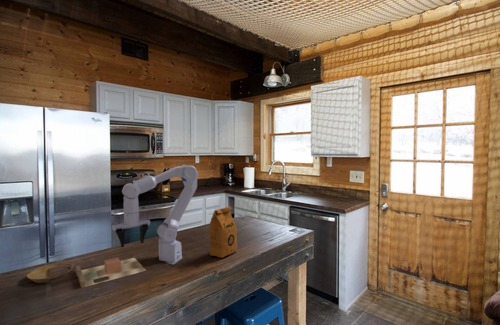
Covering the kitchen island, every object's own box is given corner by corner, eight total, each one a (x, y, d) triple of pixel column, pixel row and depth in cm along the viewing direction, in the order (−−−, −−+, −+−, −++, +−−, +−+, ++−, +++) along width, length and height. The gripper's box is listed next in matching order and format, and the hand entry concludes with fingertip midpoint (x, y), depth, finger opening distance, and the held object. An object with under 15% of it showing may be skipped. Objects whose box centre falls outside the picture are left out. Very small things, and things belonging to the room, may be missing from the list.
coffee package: (240, 252, 130) (239, 207, 129) (221, 260, 120) (221, 211, 120) (225, 248, 136) (224, 204, 135) (206, 255, 127) (206, 208, 126)
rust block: (118, 266, 112) (117, 257, 112) (121, 270, 108) (120, 261, 108) (104, 270, 109) (104, 260, 109) (107, 274, 105) (106, 264, 105)
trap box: (134, 260, 122) (134, 253, 122) (146, 273, 108) (146, 265, 108) (76, 274, 108) (75, 266, 108) (81, 291, 95) (81, 282, 95)
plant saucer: (50, 268, 115) (49, 262, 115) (82, 269, 113) (82, 263, 113) (16, 285, 100) (16, 278, 100) (53, 286, 99) (52, 279, 99)
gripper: (146, 208, 121) (146, 238, 121) (110, 213, 112) (111, 245, 112) (151, 211, 115) (152, 242, 115) (113, 216, 106) (114, 250, 107)
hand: (132, 244), depth 113 cm, fingers open, 7 cm apart
